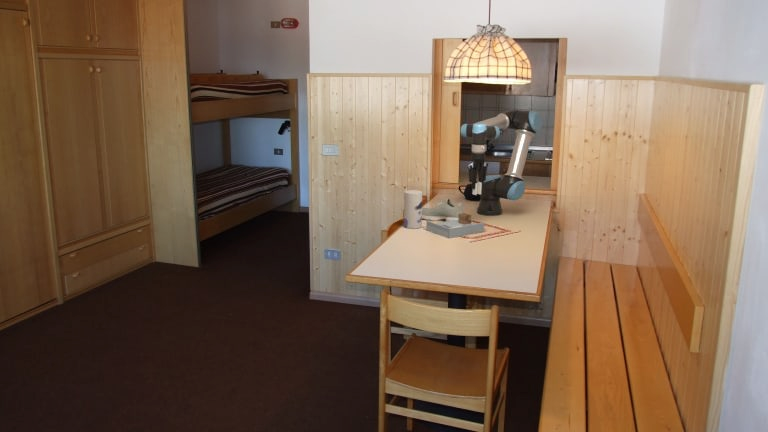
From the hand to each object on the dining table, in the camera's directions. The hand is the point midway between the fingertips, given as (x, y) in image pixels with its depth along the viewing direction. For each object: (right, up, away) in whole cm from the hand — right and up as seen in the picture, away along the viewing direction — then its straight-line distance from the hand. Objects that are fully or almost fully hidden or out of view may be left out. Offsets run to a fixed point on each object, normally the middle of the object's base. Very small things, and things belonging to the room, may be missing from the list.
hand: (476, 194), depth 366 cm
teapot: (+10, -1, +74) cm, 75 cm away
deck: (-13, -20, -5) cm, 25 cm away
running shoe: (-18, -15, +19) cm, 30 cm away
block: (-7, -16, -1) cm, 17 cm away
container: (-35, -18, +3) cm, 40 cm away
